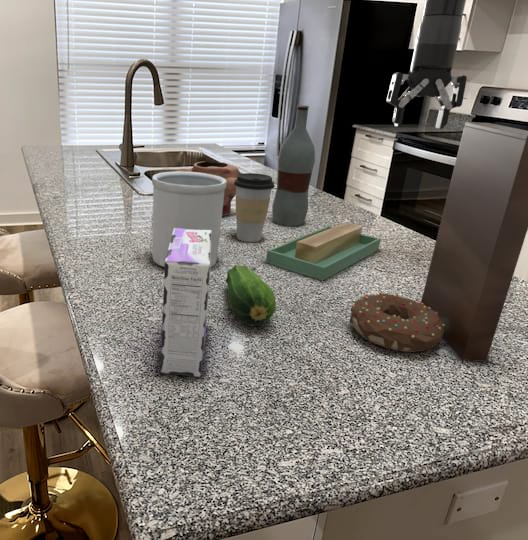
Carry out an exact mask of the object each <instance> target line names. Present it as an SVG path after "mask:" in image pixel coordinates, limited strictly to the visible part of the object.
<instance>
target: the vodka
mask: <svg viewBox="0 0 528 540" xmlns="http://www.w3.org/2000/svg"><path fill="white" fill-rule="evenodd" d="M296 107H297V111H296V118H295V123H294V124H295V125H294V128H293V129H292V130H291V132H290V134H289V135H288V136H287V137H286V139H285V140H284V141H283V142H282V144H281V146H280V149H279V154H278V156H277V177H276V181H277V182H276V190H275V194H274V197H273V201H272V204H271V205H272V206H271V217H272V221H273V223H275V224H277V225H280V226H286V227H300V226H302V225H304V224H305V221H306V218H307V214H308V210H309V188H310V184H311V180H312V179H311V178H312V174H313V170H314V166H315V162H316V149H315V145H314V143H313V141H312V138H311V136H310V134H309V131H308V130H307V124H308V123H307V122H308V115H309V114H308V113H309V108H310V106H309V105H303V104H302V105H301V104H300V105H299V104H298V105H297V106H296Z"/></svg>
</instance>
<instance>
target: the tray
mask: <svg viewBox="0 0 528 540" xmlns="http://www.w3.org/2000/svg"><path fill="white" fill-rule="evenodd" d="M333 227H334V226H330V225H327V226H324V227H321V228H320V229H317V230H314V231H311V232H309V233H306V234H304V235H302V236H299V237H296V238H295V239H294V238H293V239H291V240H289V241H287V242H284V243H282V244H280V245H277V246H275V247H272V248H269V249H267V250H266V258H265V263H266V264H269V265H272V266H276V267H278V268H282V269H284V270H288V271H291V272H294V273H298V274H300V275H303V276H306V277H309V278H312V279H315V280H319V281H322V282H323V281H325V280H326V279H328V278H331V277H332V276H334V275H336V274H338V273H340V272H342V271H343V270H345V269H347V268H348V267H350V266H352V265H354V264H356V263H358V262H360V261H362V260H363V259H365V258H367V257H369V256H371V255H373V253H376V252H379V249H380V245H381V241H382V240H381V238H378V237H374V236H371V235H367V234H362V233H361V237H360V242H359V243H358V244H356V245H354V246H352V247H350V248H347V249H345V250H343V251H341V252H339V253H337V254H335V255H333V256H331V257H329V258H326V259H324V260H322V261H320V262H318V263H316V264H314V263H311V262H307V261H304V260H301V259H297V258H295V252H296V245H297V241H300V240H302V239H305V238H307V237H310V236H312V235H315V234H318V233H320V232H323V231H325V230H328V229H330V228H333Z"/></svg>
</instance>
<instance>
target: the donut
mask: <svg viewBox="0 0 528 540" xmlns="http://www.w3.org/2000/svg"><path fill="white" fill-rule="evenodd" d="M349 309H350V317H349V323H350V324H351V325H352V326H353V327H354V329H355V330H356V332H357V333H358V334H359V335H360V336H361V337H362V338H364V339H366V340H367V341H369V342H371V343H372V344H375V345H378V346H380V347H382V348H385V349H389V350H394V351H398V352H399V351H400V352H411V353H413V352H422V351H423V352H424V351H425V350H428V349H432V348H433V347H435V346H436V345H440V342H441V340H443V338H442V337H443V333H444V330H445V328H444V324H443V322H442V320H441V319H440V317H439V315H438V314H437V312H435V311H433V310H431V308H430V307H427V306H426V305H423V303H421V302H418V301H416V300H414V299H411V298H409V297H406V296H400V295H399V294H396V295H395V294H394V293H391V294H390V293H385V292H383V293H382V292H380V293H379V294H370V295H369V294H366V295H364V296H361V297H359V298H357V299H356V300H354V303H353V304H352V305H351V307H350V308H349Z"/></svg>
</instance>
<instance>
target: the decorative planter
mask: <svg viewBox="0 0 528 540" xmlns="http://www.w3.org/2000/svg"><path fill="white" fill-rule="evenodd" d="M177 171H185V172H198V173H206V174H211V175H216V176H219V177H222V178H224V179H226V181H227V183H226V188H225V190H224V201H223V210H222V217H223V216H227V215H229V214H230V213H231V208H232V202H233V199H234V198H235V197H236V186H235V185H234V182H235V179H237V177H238V175H239V174H241V172H240V169H239V167H238V166H236V165H234V164H230V163H228V162H219V161H208V160H207V161H206V160H205V161H204V160H203V161H198V162H196V163H194V164H193V166H192V168H181V169H178V170H177Z"/></svg>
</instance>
